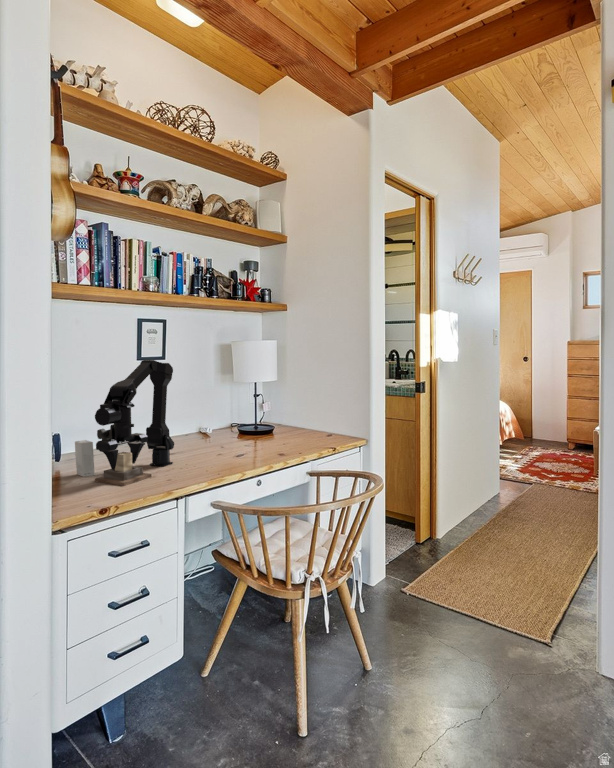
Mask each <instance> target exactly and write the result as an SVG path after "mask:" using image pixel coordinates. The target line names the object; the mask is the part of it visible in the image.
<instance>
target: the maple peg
mask: <svg viewBox="0 0 614 768" xmlns="http://www.w3.org/2000/svg"><path fill="white" fill-rule="evenodd" d="M132 466H133V464H132V453H131V452H129V451H128V452H127V451H122V452H118V456H117V462H116V467H115V471H120V472H125V471H129V470H132Z"/></svg>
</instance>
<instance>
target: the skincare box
mask: <svg viewBox="0 0 614 768" xmlns="http://www.w3.org/2000/svg"><path fill="white" fill-rule="evenodd" d="M74 450H75V451H74V453H75V467H76V469H75V470H76V475H78V476H81V477H83V478H86V477H92V476H95V474H96V473H95V460H94V459H95V458H94V457H95V456H94V442H93V441H92V440H91V441H90V440H87V439H83V440H77V441H74Z"/></svg>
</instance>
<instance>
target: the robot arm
mask: <svg viewBox="0 0 614 768" xmlns="http://www.w3.org/2000/svg"><path fill="white" fill-rule="evenodd" d="M173 373H174V368H173V366H172V365H171V364H170V363H169V362H162V361H160V362H159V361H157V360H154V359H143V360H141V361H140V364H139V365H138V366H137V367H136V368H135V369H133V371H132V372H131V373H130V374H129V375H128V376H127V377H125V379H122V380H120V381H118V382H116V383H114V384H112V385H111V387H110V388H109V390H108V393H107V395H106V397H105V400H104V402H103V404H99V408H97V410H96V411H95V414H94V420H95V422H96V424H97V425H100V426H103V427H104V426H107V425H110V428H109V429H107V430H106V429H105V428H100V429H97V431H96V432H97V433H96V436H97V439H98V441H96V443H95V449H96V450H97V451H99V452H102V453H103V454H104V455H105V456H106V459H107V461H108V463H109V466H110V469H115V467H116V462H117V456H118V453H119V449H118V447H119V446H122V445H125V444H127V445H128V447H129V448H130V452H129V453H132V465H133V464H136V461H137V460H138V457H139V455H140V452H141V451H142V449H143V448H144V446H145V445H146V444H147V448H148V450H152V454H151V460H152V462H151V463H149V466H155V467H165V466H168V465H171V464H174V461H171V460H170V459H171V458H170V453H171V451H172V450H173V449H174V448H175V442H174V440H173V439H172V438H171V436H170V429H169V428H168V425H167V423H166V415H167V396H168V395H167V393H168V386H169V384H170V383H171V381H172V379H173ZM148 377H149V379H150V381H151V383H152V384H153V395H152V399H153V400H152V415H151V416H152V419H151V424H150V425H149V426H147V427H146V429H145V431H146V432H145V433H140V432H135V433H132V428H135V423H132V408H134V407H135V404H134V403H133V402H132V401H133V399H134V397H135V396H136V395H137V389H138V387H139V386H140V385H141V384H142V383H143V382H144V381H145V380H146V379H147V378H148ZM170 450H171V451H170Z"/></svg>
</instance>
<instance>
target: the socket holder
mask: <svg viewBox="0 0 614 768" xmlns="http://www.w3.org/2000/svg"><path fill="white" fill-rule="evenodd" d="M152 476H153V475H152V473H148V472H144V468H143V467H142V466H141V467H140V466H133V465H132V470H129V471H125V472H120V471H115V469H112V468H108V469H105V470H103V475H102V476H100V477H96V478H94V483H95V482H96V483H102V484H110V485H116V486H123V487H126V486H128V485H131V484H134V483H137V482H139V481H143V480H147V479H149V478H152Z"/></svg>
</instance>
